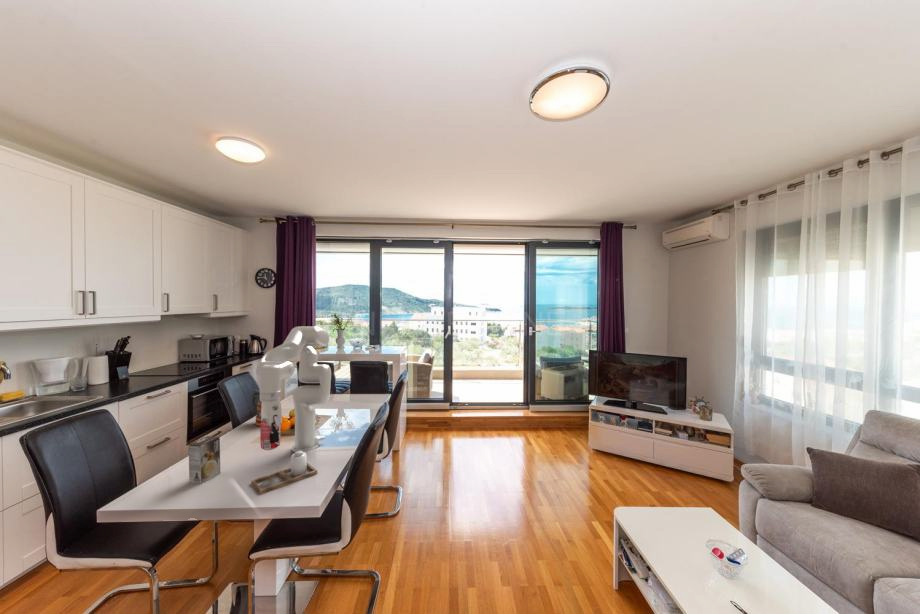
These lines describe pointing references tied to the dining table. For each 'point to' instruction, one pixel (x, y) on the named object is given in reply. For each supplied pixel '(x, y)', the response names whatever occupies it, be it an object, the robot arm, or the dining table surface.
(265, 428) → the soda can
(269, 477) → the tray
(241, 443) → the dining table surface
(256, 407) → the beer stein
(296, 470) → the white rounded cylinder
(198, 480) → the coffee box
